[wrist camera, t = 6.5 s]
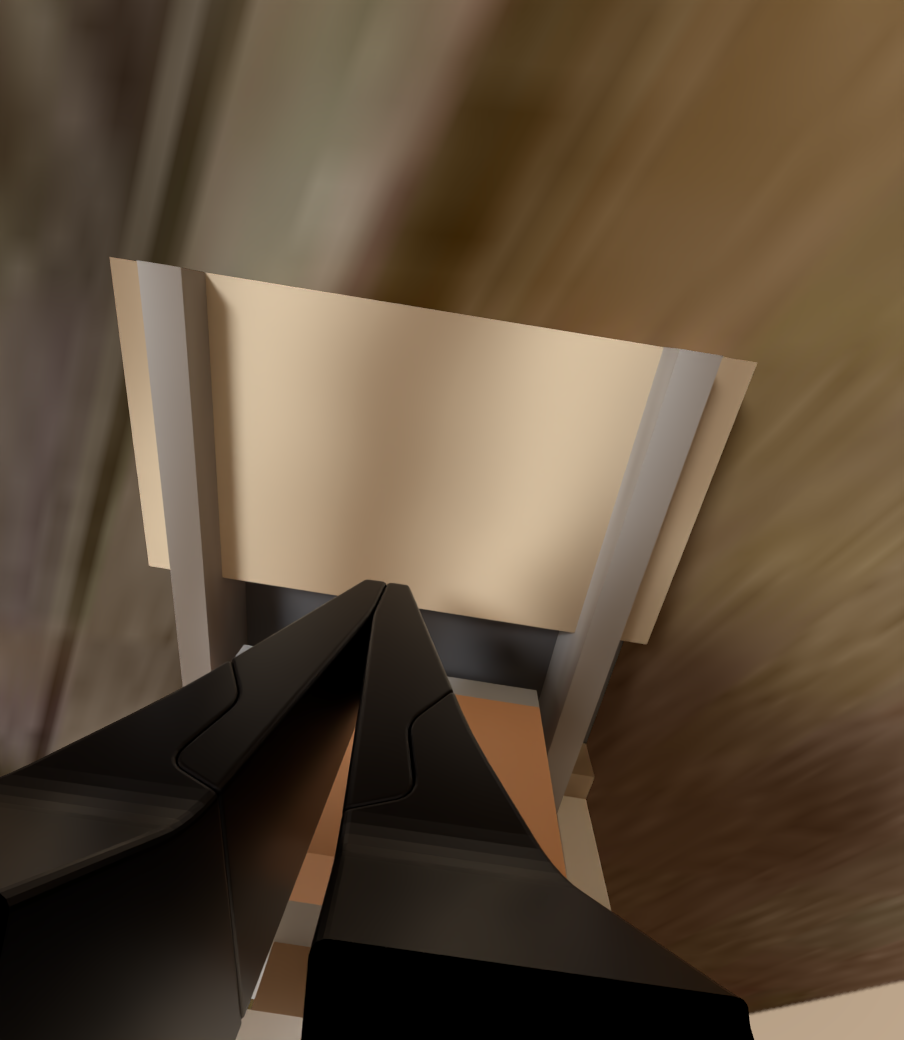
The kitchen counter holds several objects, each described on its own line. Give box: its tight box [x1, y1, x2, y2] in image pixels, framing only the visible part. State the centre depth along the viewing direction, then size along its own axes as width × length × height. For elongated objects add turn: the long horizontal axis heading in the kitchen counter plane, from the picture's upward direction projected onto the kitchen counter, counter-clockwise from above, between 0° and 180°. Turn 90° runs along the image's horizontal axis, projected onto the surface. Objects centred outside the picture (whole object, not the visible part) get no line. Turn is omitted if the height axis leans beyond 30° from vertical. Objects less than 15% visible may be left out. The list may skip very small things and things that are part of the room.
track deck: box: [110, 257, 757, 814], centre depth 14 cm, size 13×26×2 cm, turn 171°
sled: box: [235, 645, 567, 1018], centre depth 13 cm, size 8×18×5 cm, turn 171°
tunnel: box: [236, 796, 611, 1040], centre depth 12 cm, size 13×6×6 cm, turn 82°
